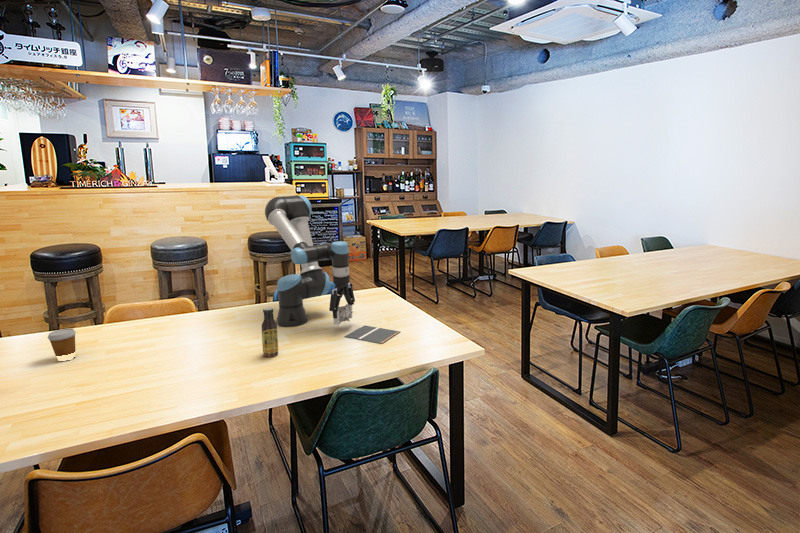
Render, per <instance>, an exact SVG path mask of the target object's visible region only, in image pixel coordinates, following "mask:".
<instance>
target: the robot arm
mask: <svg viewBox="0 0 800 533" xmlns="http://www.w3.org/2000/svg"><path fill="white" fill-rule="evenodd" d="M264 215H265V218H266V221H267V222H268V223H269V224H270V225H271V226H273V227H274V228H275V229H276V231H277V232H278V233H279V235H280V236H281V238H282V239H283V241H284V242H285V244H286V245H287V246H288V248H289V249H290V258H291V261H292V263H293V264H294V265H300V267H301V271H300V273H299V274H298V273H294V274H287V275H285V276H281V277H280V278H279V279H278V280H277V287H276V290H277V297H278V299H277V300H278V311H277V312H278V313H277V317H276V323H277V325H278V326H280V327H284V328H285V327H287V328H288V327H297V326H301V325H304V324H306V323H307V322H308V320H309V319H308V318H309V317H308V314H307V312H306V309H305V308H304V300H307V299H311V298H317V297H321V296H325V295H326V294H328V292H329V290H330V300H329V301H330V302H329V312H332V318H333V325H336V326H339V325H340V324H339V311H338V307H340V302H341V298H343V296H344V299H345V302H346V304H347V307H348V309H349V310H350V311H351V312H352V311H353V305H355V302H356V299H355V295H354V291H353V290H354V289H353V283H352V282H351V283H350V279H351V278H350V258H349V257H350V254H349V252H350V249H349V244H348V242H346V241H343V240H342V241H340V240H339V241H333V242H325V241H324V242H321V243H319V244H315V245H314V243H313V238H312V235H311V230H310V228H309V227H310V226H309V223H308V222H309V220H310V216H312V203H311V201H310V200H309V198H308V197H306V196H304V195H297V194H295V195H287V196H285V195H284V196H275V197H273V198H271V199H269V201H268V202H267V204H266V205H265V208H264ZM321 261H331V262H332V275H333V276H332V279H333V282H332V283H333V285H334V289H330V288H331V279H330V276H329V275H328V273H327V272H325V271H324V269H323V267H320V265H319V262H321ZM352 318H353V313H351V315H350V318H349V319H352Z"/></svg>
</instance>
